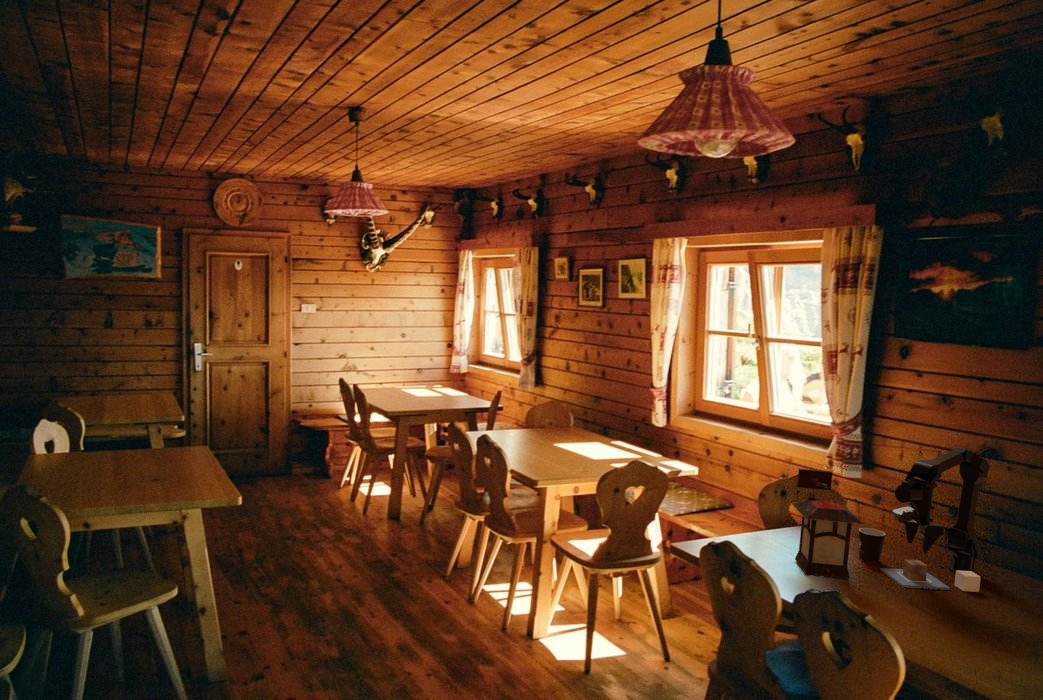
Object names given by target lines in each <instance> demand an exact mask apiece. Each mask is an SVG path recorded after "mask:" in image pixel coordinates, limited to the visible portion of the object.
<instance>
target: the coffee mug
mask: <svg viewBox="0 0 1043 700" xmlns="http://www.w3.org/2000/svg"><path fill="white" fill-rule="evenodd" d="M885 539H886V532H884V531H882V530H879V529H876V528H871V527H870V528H869V527H862V528H861V527H860V528H859V529H858V558H860V559H862V560H864V561H863V562H865V561H867V562H866V563H869V562H876V563H875V564H877V562H879V563H880V560H881V555H882V551H883V549H884V548H883V547H884V543H885ZM860 559H859V560H860ZM862 560H861V561H862Z"/></svg>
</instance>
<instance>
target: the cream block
mask: <svg viewBox="0 0 1043 700" xmlns="http://www.w3.org/2000/svg"><path fill="white" fill-rule="evenodd" d="M975 573H976V572H975ZM975 573H973V572H972V571H959V570H956V572H955V576H954V577H955V578H954V586H955V587H957V589H960V591H963V592H972V593H973V592H974V593H975V592H976V593H980V585H981V576H980V575H978V574H975Z"/></svg>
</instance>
